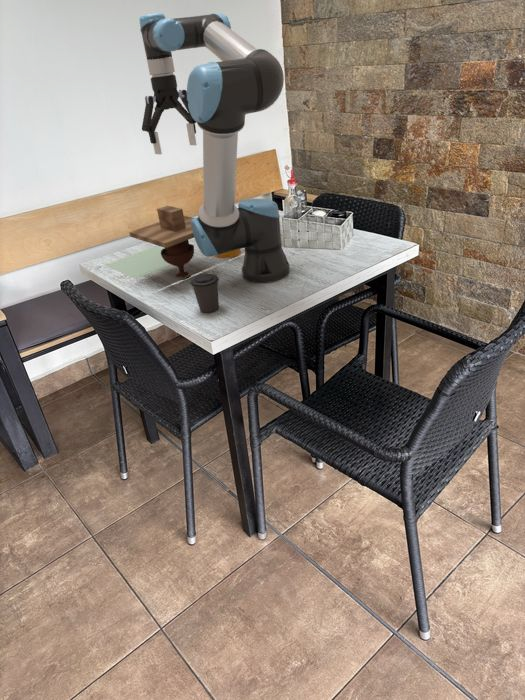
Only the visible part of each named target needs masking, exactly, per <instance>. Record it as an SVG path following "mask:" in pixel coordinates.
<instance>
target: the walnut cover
mask: <svg viewBox="0 0 525 700" xmlns="http://www.w3.org/2000/svg"><path fill="white" fill-rule="evenodd" d="M183 210H184V209H183V208H181V207H180V208H179V207H175V206H170V205H164V206H163V207H158V208H156V211H157V216H158V222H155V223H152V224H149V225H147V226H144V227H141V228H138V229H134V230H131V231H129V237H131V238H133V239H136V240H139V241H143V242H145V243H149V244H152V245H154V246H157V247H160V248H163V249H164V248H167V247H170V246H173V245H175V244H178V243H181V242H183V241H186V240H188V241H189V240H191V239H195V238H194V235H193V232H192V228H191V221H192V219H194V218H195V217H191V216H187V215H184V211H183Z"/></svg>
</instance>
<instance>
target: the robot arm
mask: <svg viewBox="0 0 525 700" xmlns="http://www.w3.org/2000/svg"><path fill="white" fill-rule="evenodd" d="M139 27H140V28H139V29H140V33H141V36H142V37H141V38H142V41H143V47H144V52H145V57H146V62H147V67H148V71H149V72H148V73H149V75H150V76H151V78H150V84H151V89H152V91H153V96H152V95H146V96H145V97H144V100H145V107H144V108H145V109H144V113H143V120H142V124H141V125H142V126H141V131H142V132H146V133H148V135H149V140H150V141H149V143H151V144H152V146H153V150H154V151H153V152H154V155H162V154H163V153H162V147H161V143H160V139H159V133H158V131H156V129H157V127H158V125H159V121H160V119H161V116H162V114H163V113H164V112H165V111H166V110H170V109H175V110H176V111H177V113H179V114H180V115H181V116H182V117H183V118H184V120H185V121H187V122H188V123H185V124H186V130H187V137H188V142H189V146H197V139H196V134H197V130H196V129H197V128H196V124H197V126H198V127H199V128H200V129H201V130H202V151H203V153H202V162H203V163H202V164H203V167H202V169H203V170H202V172H203V179H202V180H203V183H202V184H203V187H202V188H203V193H202V194H203V203H202V204H201V205H200V206H199V208H198V213H197V214H198V215H197V216H198V217H193V218H194V219H192V221H191V228H192V232H193V235H194V238H193V239H194V240H195V243H196V245H197V248H198V250H199V251H200V252H201V253H202V255H203V256H205V257H209V258H210V257H216V255H217V256H218V255H220V254H223V253H227V252H230V251H234V250H237V249H240V250H241V249H244V257H243V263H242V267H241V274H242V278H243V279H244V280H245V281H248V282H250V283H261V284H262V283H270V282H275V281H279V280H282V279H284V278H285V277H288V275H289V274H290V272H291V270H290V263H289V261H288V259H287V256H286V254H285V252H284V250H283V244H282V233H281V221H280V217H281V216H280V212H279V207H278V204H277V202H275V201H274V200H271V199H267V198H246V199H242V200H240V201H239V202H238V207H237V206H236V205H235V202H236V201H235V200H236V199H235V198H236V181H237V180H236V178H237V160H238V158H237V157H238V140H239V139H238V138H239V132H241V131H242V130H243V129H244V127H245V121H246V115H248V114H249V115H250V114H252V113H253V114H254V113H257V112H258V113H259V112H262V111H265V110H267V109H268V108H271V106H273V105H274V104H275V103H276V101H277V100H278V99H279V98H280V95H281V93H282V91H283V88H284V83H285V81H284V80H285V77H284V76H285V75H284V71H283V67H282V64H280V61H279V60H278V59H277V58H276V57H275V56H274V55H273V54H272V53H271V52H269V51H268V50H266V49H263V48H256V47H255V46H254V45H253V44H251V43H250V42H249V41H247V40H246V39H245V38H243V37H242V36H241V35H240V34H238V33H237V32H235V31H234V30H232V27H231V22H230V20H229V18H228V16H227V15H226V14H224V13H211V14H204V15H195V16H187V17H176V18H169V17H167V18H166V15H165V14H163V13H161V12H160V13H159V12H158V13H149V14H144V15H141V16H140V17H139ZM198 48H206V49H208V50H209V51H210V52H211V53H212V54H213V55H215V56H216V57H217V58H218V59H220V61H208V62H207V63H203V64H199V65H196V66H194V67H193V69H192V70H191V71H190V74H189V75H188V77H187V84H186V89H179V90H178V82H177V76H176V75H175V74H174V72H176V70H175V65H174V61H173V60H174V58H173V54H172V53H173V52H175V51H181V50H188V49H198ZM179 99H180V100H181V101H179ZM181 102H182V103H181ZM155 103H156V104H155ZM154 105H155V106H154ZM183 105H184V106H183Z"/></svg>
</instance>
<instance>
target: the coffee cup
mask: <svg viewBox="0 0 525 700" xmlns="http://www.w3.org/2000/svg"><path fill="white" fill-rule="evenodd" d="M219 280H220V277H219V276H218V275H216V274H215V273H202V274H199V275H196V276H194V277H192V278H191V280H190V282H189V284H190V286H192V289H193V292H194V295H195V297H196V298H195V299H196V302H197V304H198V305H197V306H198V308H199V312H201V313H202V314H205V315H206V314H213V313H216V312H218V311H219V308H220V302H219V301H220V300H219V298H220V297H219V284H218V283H219Z"/></svg>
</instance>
